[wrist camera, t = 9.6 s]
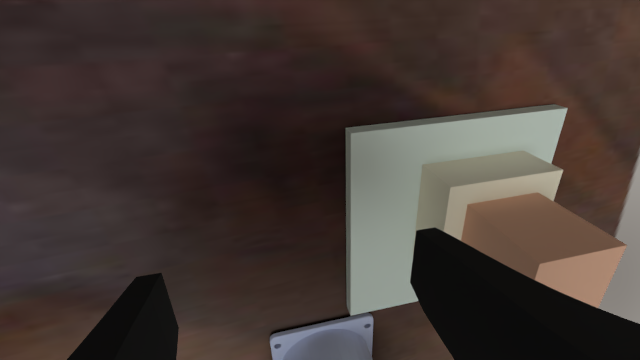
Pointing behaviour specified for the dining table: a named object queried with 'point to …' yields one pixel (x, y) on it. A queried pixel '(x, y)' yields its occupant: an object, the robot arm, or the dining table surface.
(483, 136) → the base plate
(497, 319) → the robot arm
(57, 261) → the dining table surface
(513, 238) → the top brick
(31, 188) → the dining table surface
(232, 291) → the dining table surface
